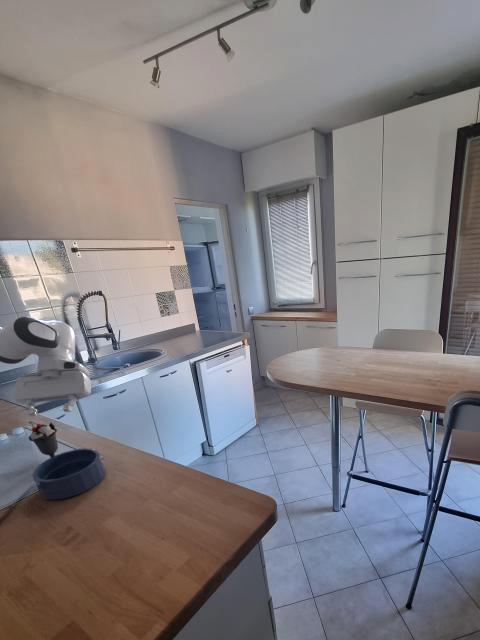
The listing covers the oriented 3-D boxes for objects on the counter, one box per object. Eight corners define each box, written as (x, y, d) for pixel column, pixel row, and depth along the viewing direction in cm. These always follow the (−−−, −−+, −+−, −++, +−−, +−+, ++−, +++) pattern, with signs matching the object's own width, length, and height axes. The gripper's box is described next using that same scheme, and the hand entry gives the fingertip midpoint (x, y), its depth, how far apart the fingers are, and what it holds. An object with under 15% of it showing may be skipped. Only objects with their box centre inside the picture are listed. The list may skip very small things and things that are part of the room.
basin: (28, 505, 80) (18, 485, 78) (59, 470, 94) (51, 452, 91) (92, 496, 82) (84, 476, 80) (113, 463, 95) (107, 445, 93)
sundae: (39, 473, 93) (17, 426, 87) (45, 461, 98) (25, 416, 92) (67, 466, 95) (47, 420, 89) (71, 455, 101) (53, 410, 95)
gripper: (10, 370, 98) (3, 414, 93) (84, 362, 100) (80, 405, 95) (25, 379, 104) (19, 421, 99) (95, 372, 106) (92, 412, 101)
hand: (50, 413), depth 97 cm, fingers open, 8 cm apart
